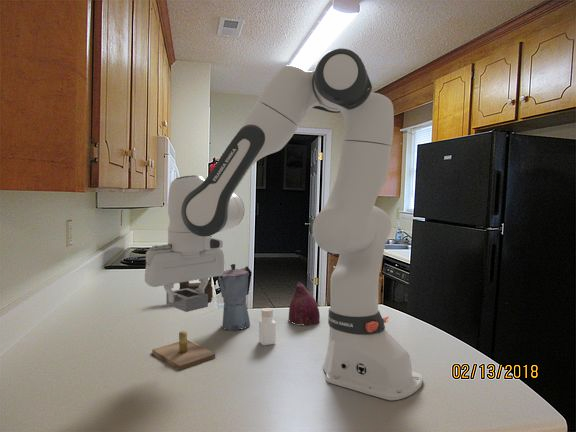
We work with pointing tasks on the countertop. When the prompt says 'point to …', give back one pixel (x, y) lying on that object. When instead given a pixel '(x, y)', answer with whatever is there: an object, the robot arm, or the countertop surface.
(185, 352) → the keeper
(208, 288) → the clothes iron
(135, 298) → the countertop surface
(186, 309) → the link
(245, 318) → the moka pot
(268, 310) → the pepper shaker
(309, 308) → the vegetable
